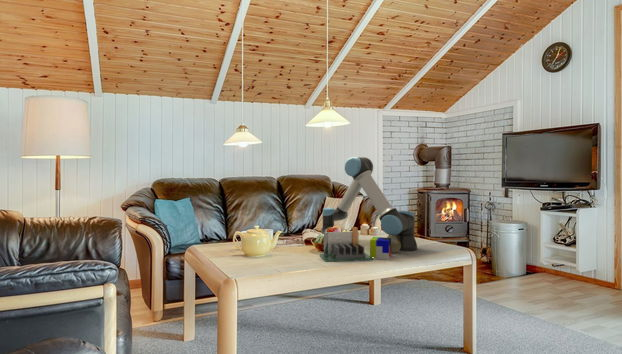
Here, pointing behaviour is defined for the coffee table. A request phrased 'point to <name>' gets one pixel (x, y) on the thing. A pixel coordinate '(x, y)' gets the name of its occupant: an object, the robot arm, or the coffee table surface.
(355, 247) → the model factory
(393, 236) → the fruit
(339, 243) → the upright grey panel
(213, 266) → the coffee table surface
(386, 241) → the puzzle toy
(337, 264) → the coffee table surface
